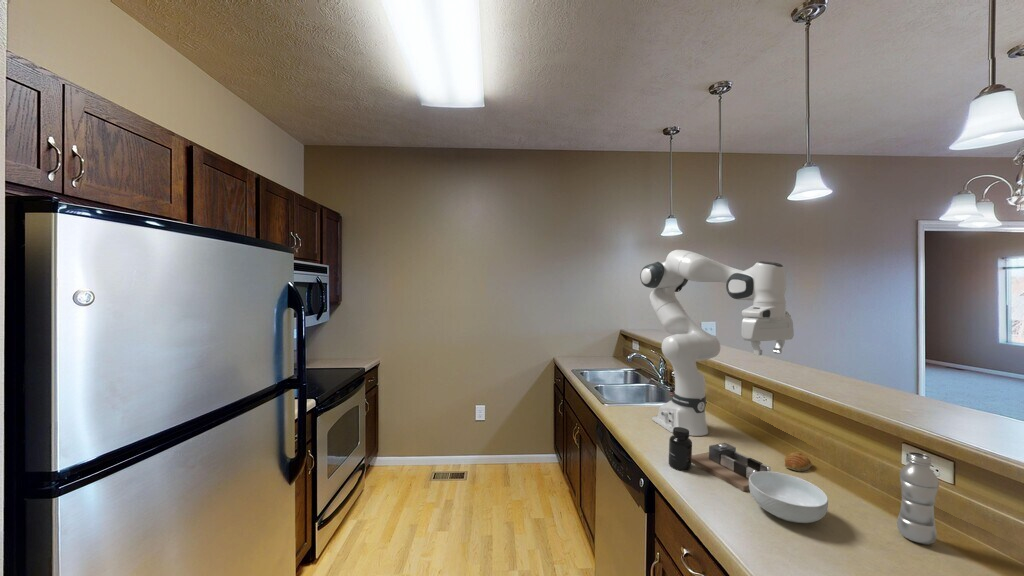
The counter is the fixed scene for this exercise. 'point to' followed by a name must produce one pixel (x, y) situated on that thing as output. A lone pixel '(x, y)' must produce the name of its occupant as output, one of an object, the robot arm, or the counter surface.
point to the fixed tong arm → (737, 466)
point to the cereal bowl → (788, 496)
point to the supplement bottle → (680, 449)
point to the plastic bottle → (918, 499)
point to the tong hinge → (721, 452)
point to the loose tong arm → (751, 462)
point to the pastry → (797, 462)
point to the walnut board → (721, 471)
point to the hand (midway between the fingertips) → (767, 354)
